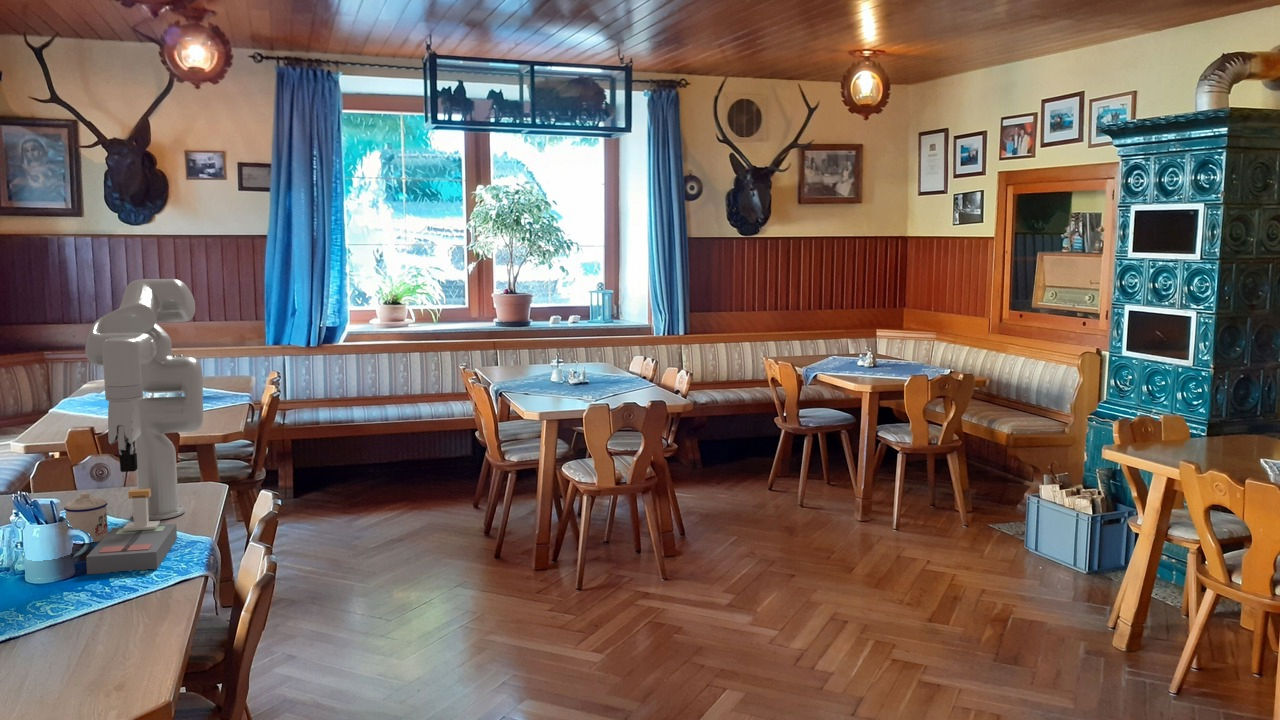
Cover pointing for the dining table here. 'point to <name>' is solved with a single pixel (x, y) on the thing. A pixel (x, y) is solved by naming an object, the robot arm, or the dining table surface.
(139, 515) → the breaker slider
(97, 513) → the teacup with lid
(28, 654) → the dining table surface
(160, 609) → the dining table surface
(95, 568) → the switch box
